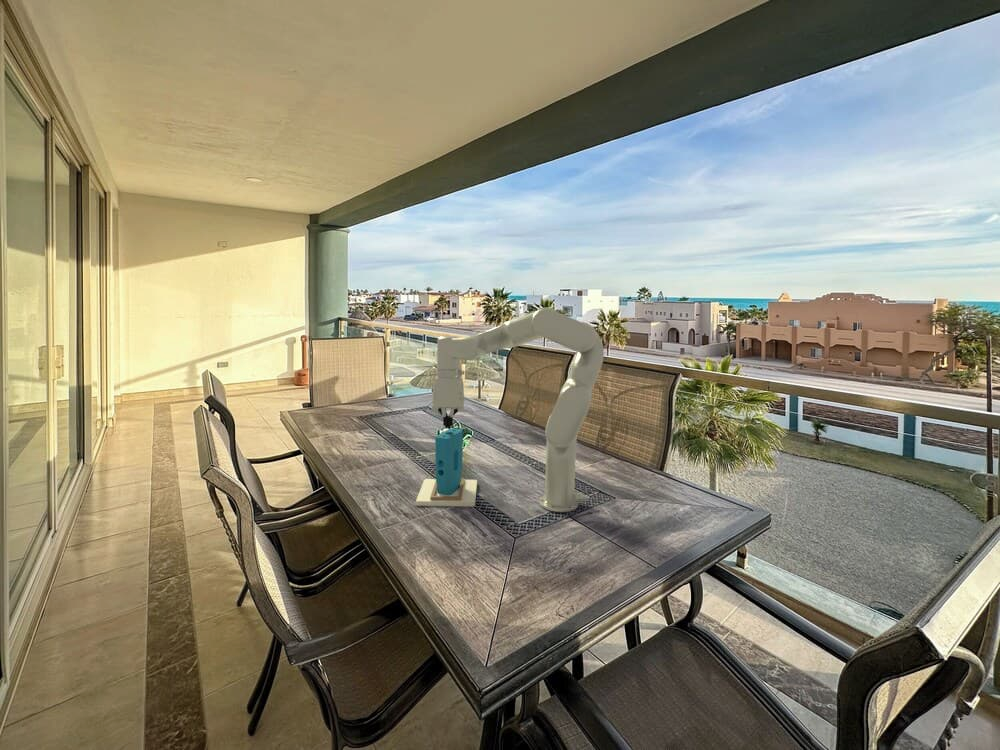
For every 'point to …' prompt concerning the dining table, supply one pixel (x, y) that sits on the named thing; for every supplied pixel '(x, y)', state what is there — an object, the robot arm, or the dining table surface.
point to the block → (448, 460)
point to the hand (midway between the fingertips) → (448, 427)
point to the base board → (458, 498)
